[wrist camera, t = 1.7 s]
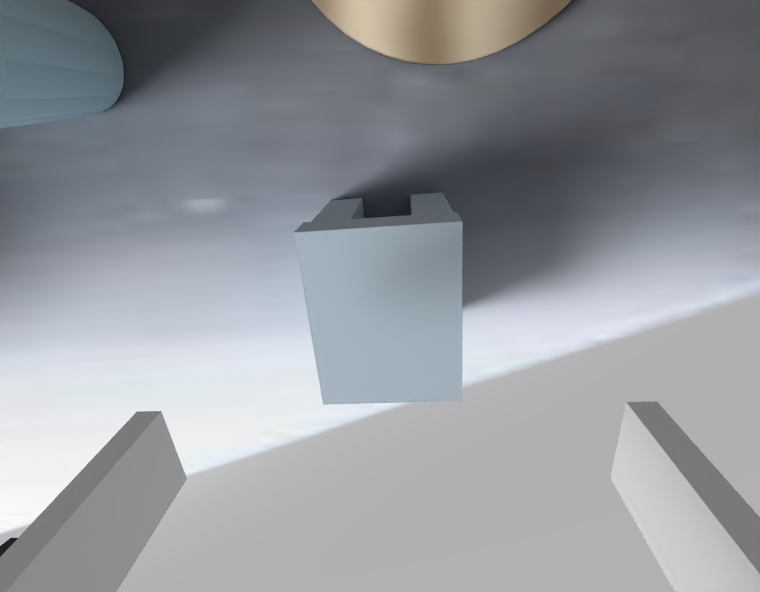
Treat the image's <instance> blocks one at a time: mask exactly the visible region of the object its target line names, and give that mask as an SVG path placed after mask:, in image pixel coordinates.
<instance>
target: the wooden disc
mask: <svg viewBox="0 0 760 592" xmlns="http://www.w3.org/2000/svg"><path fill="white" fill-rule="evenodd" d="M311 1H312V2H313V3H314V4H315V5H316V6H317V7H318V9H319V10H320V11H321V12H322V13H323V14H324V15H325V16H326V17H327V18H328V20H330V21H331V22H332V23H333V24H334V25H335V26H337V27H338V28H339V29H340V30H341V31H342V32H344V33H345V34H346V35H347V36H349V37H350V38H352V39H354V40H355V41H357V42H358V43H360V44H361V45H363V46H364V47H366V48H368V49H370V50H373V51H375V52H377V53H379V54H381V55H384V56H386V57H389V58H393V59H396V60H400V61H403V62H407V63H414V64H422V65H451V64H457V63H463V62H469V61H473V60H476V59H479V58H483V57H486V56H489V55H492V54H494V53H497V52H499V51H501V50H503V49H505V48H507V47H509V46H511V45H513V44H515V43H517V42H518V41H520V40H522V39H523V38H525V37H526V36H528V35H529V34H531V33H532V32H534V31H535V30H537V29H538V28H540V27H541V26H543V25H544V24H545V23H546V22H548V21H549V20H550V19H551V18H552V17H554V16H555V15H556V14H557V13H558V12H560V11H561V10H562V9H563V8H564V7H565V6H566V5H567V4H568V3H569V2H570V1H571V0H311Z"/></svg>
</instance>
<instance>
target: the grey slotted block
mask: <svg viewBox="0 0 760 592" xmlns="http://www.w3.org/2000/svg"><path fill="white" fill-rule="evenodd" d="M410 201H411V215H406V216H392V217H377V218H364V210H363V200H362V198H357V199H343V200H331V201H330V202H329V203H328V204H327V205H326V206H325V207H324V208H323V210H322V211H321V212H320V213H319V214H318V215H317V216H316V217H315V218H314V219H313V220H312V221H311V222H304V223H303V224H302V225H301V226H300V227H299V228H298V229H297V230H296V231H295V232H294V237H295V243H296V248H297V254H298V260H299V266H300V272H301V277H302V283H303V289H304V295H305V301H306V307H307V312H308V318H309V324H310V330H311V336H312V341H313V347H314V353H315V359H316V365H317V370H318V376H319V382H320V388H321V394H322V400H323V404H358V403H393V402H427V401H460V400H462V265H463V221H462V219H461V218H460V216H459V214H458V213H457V212H453V210H452V208H451V207H450V205H449V203H448V201H447V199H446V197H445V196H444V194H443V192H440V193H426V194H412V195H410Z"/></svg>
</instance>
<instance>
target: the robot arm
mask: <svg viewBox="0 0 760 592" xmlns="http://www.w3.org/2000/svg"><path fill="white" fill-rule="evenodd" d="M611 480H612V482H613V483H614V485H615V487H616V489H617V490H618V492H619V494H620V496H621V497H622V499H623V501H624V503H625V504H626V506H627V508H628V510H629V512H630V513H631V515H632V517H633V518H634V520H635V522H636V524H637V525H638V527H639V529H640V531H641V533H642V535H643V536H644V538H645V540H646V542H647V543H648V545H649V547H650V549H651V550H652V552H653V554H654V556H655V557H656V559H657V561H658V563H659V565H660V566H661V568H662V570H663V572H664V573H665V575H666V577H667V579H668V580H669V582H670V584H671V586H672V587H673V589H674V591H675V592H760V517H759V516H758V515H757V514H756V513H755V512H754V510H753V509H752V508H751V507H750V506H749V505H748V504H747V503H746V502H745V500H744V499H743V498H742V497H741V496H740V495H739V494H738V492H737V491H736V490H735V489H734V488H733V487H732V486H731V485H730V483H729V482H728V481H727V480H726V479H725V478H724V477H723V475H722V474H721V473H720V472H719V471H718V470H717V469H716V468H715V467H714V465H713V464H712V463H711V462H710V461H709V460H708V459H707V457H706V456H705V455H704V454H703V453H702V452H701V451H700V450H699V449H698V447H697V446H696V445H695V444H694V443H693V442H692V441H691V439H690V438H689V437H688V436H687V435H686V434H685V433H684V432H683V430H682V429H681V428H680V427H679V426H678V425H677V424H676V423H675V422H674V420H673V419H672V418H671V417H670V416H669V415H668V414H667V413H666V411H665V410H664V409H663V408H662V407H661V406H660V404H659V403H658V402H627V403H626V407H625V412H624V416H623V421H622V426H621V430H620V435H619V440H618V445H617V449H616V454H615V459H614V463H613V468H612V473H611ZM185 481H186V476H185V473H184V470H183V468H182V465H181V463H180V460H179V457H178V455H177V452H176V449H175V447H174V444H173V441H172V439H171V436H170V434H169V431H168V428H167V426H166V423H165V420H164V418H163V415H162V412H161V411H150V412H136V413H135V414H134V415H133V416H132V418H131V419H130V420H129V421H128V422H127V423H126V424H125V425H124V426H123V427H122V428H121V429H120V430H119V431H118V432H117V433H116V435H115V436H114V437H113V438H112V439H111V440H110V441H109V442H108V443H107V444H106V445H105V446H104V447H103V448H102V449H101V451H100V452H99V453H98V454H97V455H96V456H95V457H94V458H93V459H92V460H91V461H90V462H89V463H88V464H87V465H86V466H85V468H84V469H83V470H82V471H81V472H80V473H79V474H78V475H77V476H76V477H75V478H74V479H73V480H72V481H71V482H70V483H69V485H68V486H67V487H66V488H65V489H64V490H63V491H62V492H61V493H60V494H59V495H58V496H57V497H56V498H55V499H54V501H53V502H52V503H51V504H50V505H49V506H48V507H47V508H46V509H45V510H44V511H43V512H42V513H41V514H40V515H39V516H38V518H37V519H36V520H35V521H34V522H33V523H32V524H31V525H30V526H29V527H28V528H27V529H26V530H25V532H23V533H22V535H21V536H20V537H19V538H10V539H9V540H8V541H6V542H5V543H4V544H2V545H1V546H0V592H116V591H117V590H118V588H119V587H120V585H121V583H122V582H123V580H124V578H125V577H126V575H127V573H128V572H129V571H130V569H131V567H132V566H133V564H134V562H135V561H136V559H137V558H138V556H139V554H140V553H141V551H142V550H143V548H144V546H145V545H146V543H147V542H148V540H149V538H150V537H151V535H152V534H153V532H154V530H155V529H156V527H157V526H158V524H159V522H160V521H161V519H162V518H163V516H164V514H165V513H166V511H167V510H168V508H169V506H170V504H171V503H172V502H173V500H174V498H175V497H176V495H177V494H178V492H179V490H180V489H181V487H182V486H183V484H184V482H185Z"/></svg>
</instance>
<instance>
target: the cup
mask: <svg viewBox="0 0 760 592" xmlns="http://www.w3.org/2000/svg"><path fill="white" fill-rule="evenodd" d="M123 82H124V69H123V62H122V58H121V55H120V52H119V50H118V47H117V45H116V42H115V41H114V39H113V37H112V36H111V34H110V33H109V32H108V30H107V29H106V28H105V27H104V25H103V24H102V23H101V22H100V21H99V20H98V19H97V18H96V17H95V16H94V15H92V14H91V13H89V12H87V11H85V10H84V9H82V8H81V7H79V6H77V5H76V4H74V3H72V2H70V1H68V0H0V128H7V127H13V126H20V125H27V124H34V123H40V122H47V121H54V120H60V119H67V118H74V117H80V116H87V115H93V114H98V113H100V112H103V111H104V110H106V109H108V108H110V107H111V106H112V105H113V104H114V103H115V102H116V101H117V99H118V97H119V95H120V93H121V91H122V88H123Z"/></svg>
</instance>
